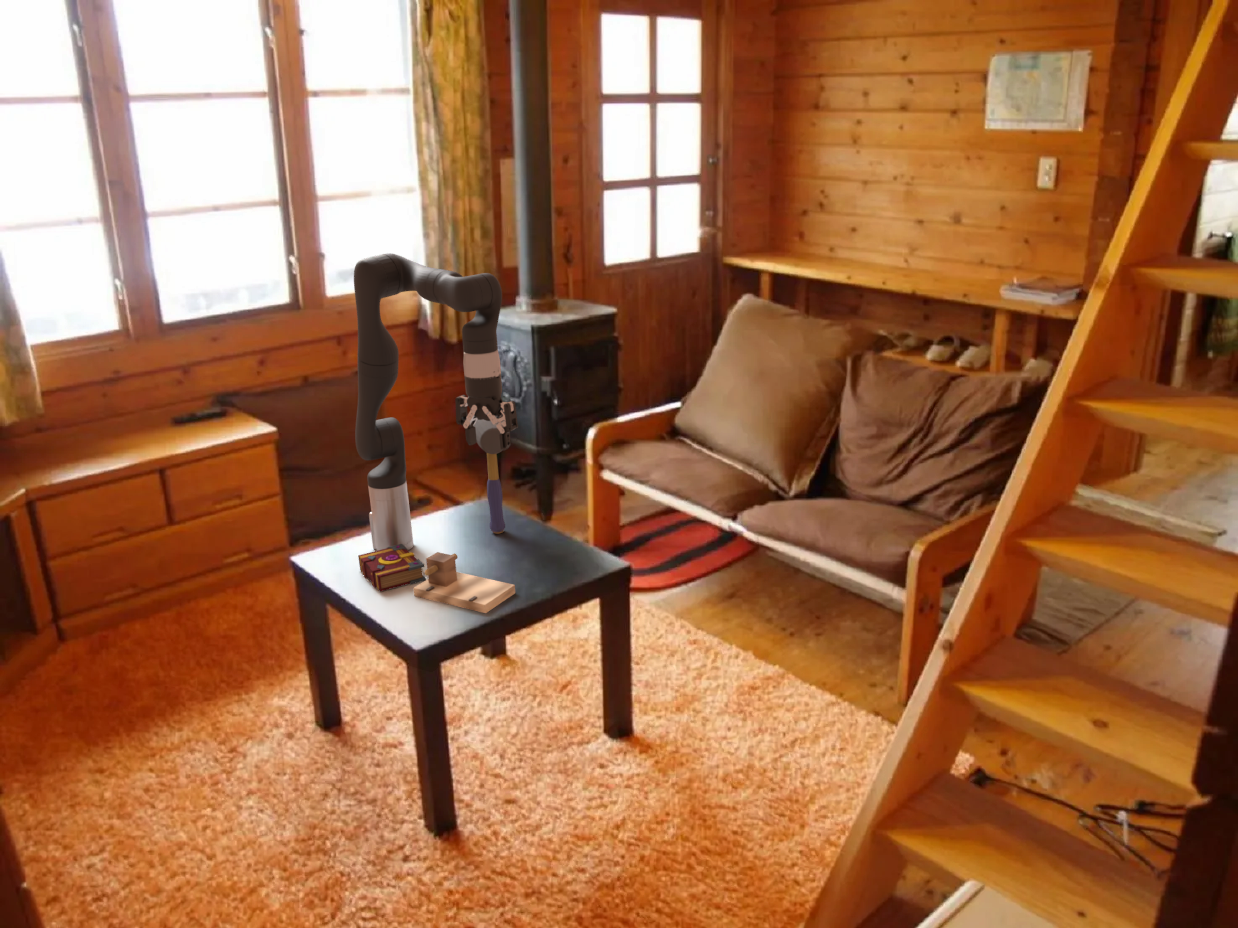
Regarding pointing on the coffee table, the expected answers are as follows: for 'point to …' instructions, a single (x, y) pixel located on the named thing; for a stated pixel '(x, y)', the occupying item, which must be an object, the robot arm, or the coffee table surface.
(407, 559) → the decorative book
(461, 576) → the board
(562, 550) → the coffee table surface
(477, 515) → the coffee table surface
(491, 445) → the rubber mallet
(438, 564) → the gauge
